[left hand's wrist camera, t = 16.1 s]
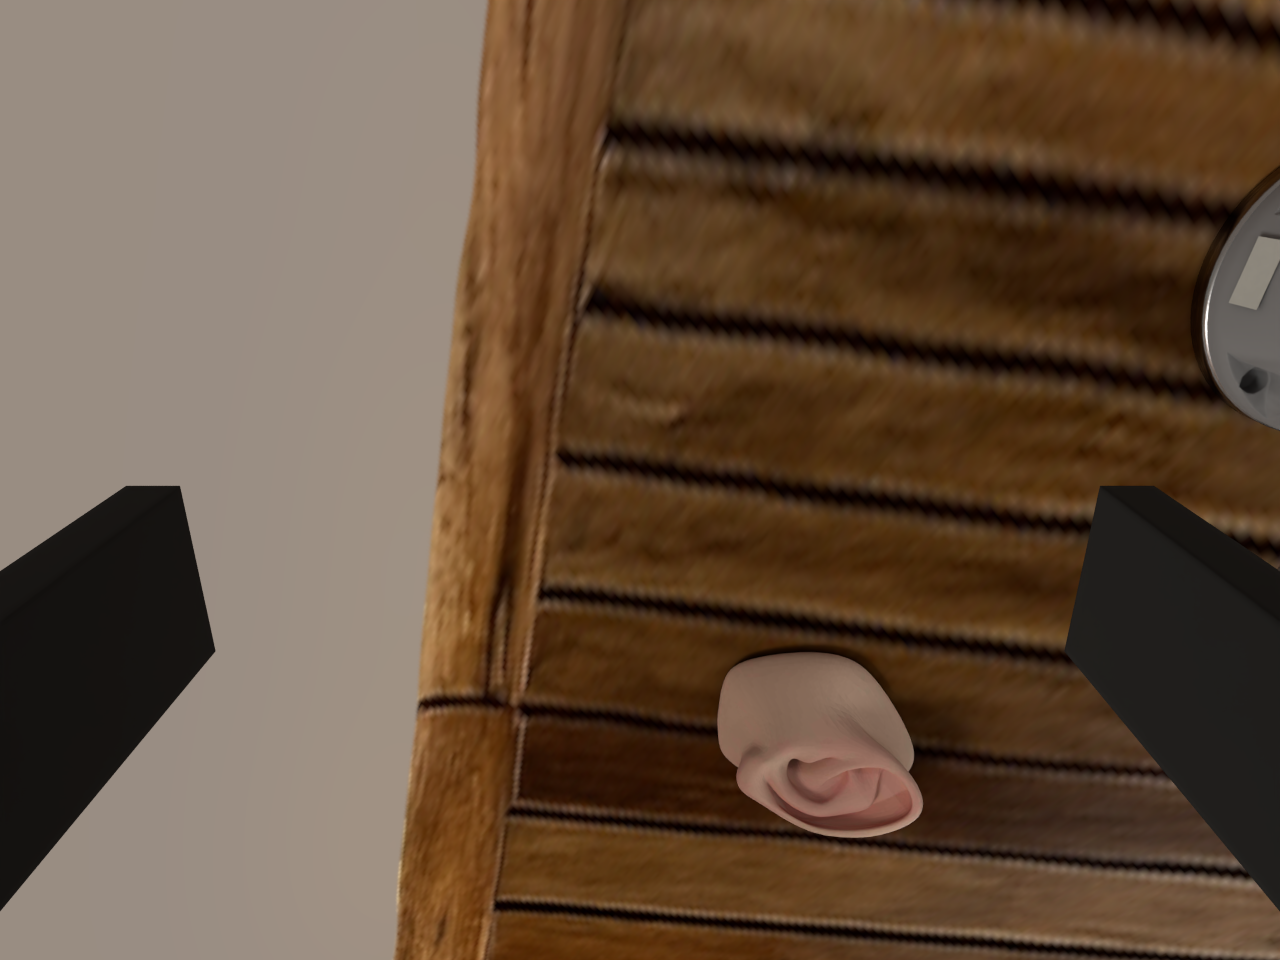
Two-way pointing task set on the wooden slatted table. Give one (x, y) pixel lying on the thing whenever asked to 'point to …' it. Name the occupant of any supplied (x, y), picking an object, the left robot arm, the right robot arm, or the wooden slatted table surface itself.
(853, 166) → the wooden slatted table surface
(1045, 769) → the wooden slatted table surface
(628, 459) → the wooden slatted table surface
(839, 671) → the anatomical model
